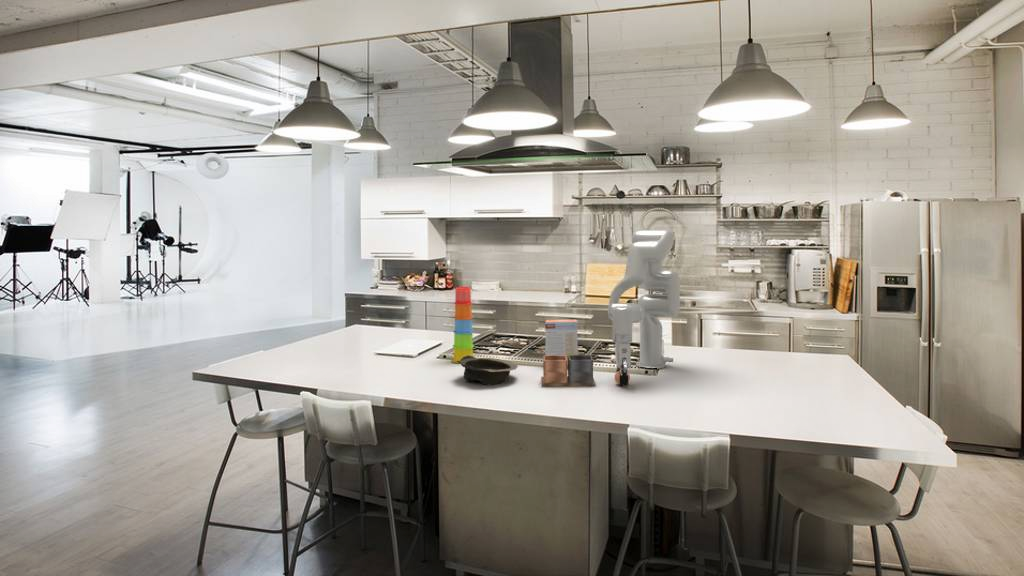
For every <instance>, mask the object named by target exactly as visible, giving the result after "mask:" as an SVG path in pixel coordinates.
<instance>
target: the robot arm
mask: <svg viewBox="0 0 1024 576" xmlns="http://www.w3.org/2000/svg"><path fill="white" fill-rule="evenodd" d="M674 240H675V239H674V234H673V233H672V232H671V231H670V230H667V229H641V230H636V231H634V232H633V233H632V236H631V241H632V243H631V244H630V245H629V248H628V251H627V258H626V266H625V270H624V271H625V272H624V276H623V278H622V279H621V280H620V281H619V282H618V283H616V285H615V286H614V287H613V289H612V290H611V293H610V295H609V301H608V308H607V314H608V316H607V317H608V318H609V320H611V321H612V343H615V344H614V345H615V348H614V349H615V350H614V354H615V355H614V357H615V364H616V371H615V373H616V372H617V371H619V370H620V385H619V386H629V382H628V373H629V371H628V369H631V368H632V358H631V357H632V355H631V354H632V353H631V349H632V348H631V343H633V324H638V323H639V361H638V360H637V361H636V364H635V366H636V365H637V367H638V366H640V367H649V366H651V367H655V368H657V369H658V370H659V369H664V368H666V365H667V364H666V363H674V357H669V356H665V357H664V355H663V325H662V322H661V321H660V320H659V318H671V319H672V318H676V317H677V316H678V315H679V313H680V304H681V303H680V302H681V301H680V299H681V298H680V297H681V295H680V294H681V292H680V291H681V290H680V287H681V286H680V284H681V283H680V276H679V273H678V272H677V271H676V270H673V269H663V264H662V262H663V261H665V259H666V258H667V256H668V254H669V253H670V251H671V250H672V248H673V245H674V242H675V241H674ZM640 285H641V287H642V289H643V290H644V291H647V292H657V293H659V292H660V293H666V294H667V295H666V294H654V293H653V294H652V293H650V294H649V293H648V294H644V295H641V296H640V297H639V298H638V301H637V303H629V302H619V301H620V298H621V297H622V296H623V294H624V293H625V292H627V291H628V290H630V289H633V288H635V287H637V286H640ZM640 367H639V368H640ZM657 369H656V370H657Z"/></svg>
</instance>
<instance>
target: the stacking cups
mask: <svg viewBox="0 0 1024 576" xmlns="http://www.w3.org/2000/svg"><path fill="white" fill-rule="evenodd" d="M454 291H455V298H454V300H455V301H454V302H453V303H454V316H453V319H454V330H453V331H452V332H453V333H454V339H453V343H454V344H453V345H452V347H453V358H452V362H453V363H454V364H459V363H458V362H456V361H460V360H461V359H462V358H463V357H464V356H468V355H469V356H473V357H474V352H473V351H474V347H475V345H474V343H473V337H474V336H473V333H474V330H473V318H474V316H473V314H472V304H473V302H472V295H471V294H472V292H471V288H470V287H469V286H457V287H456V288H455V290H454Z"/></svg>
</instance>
